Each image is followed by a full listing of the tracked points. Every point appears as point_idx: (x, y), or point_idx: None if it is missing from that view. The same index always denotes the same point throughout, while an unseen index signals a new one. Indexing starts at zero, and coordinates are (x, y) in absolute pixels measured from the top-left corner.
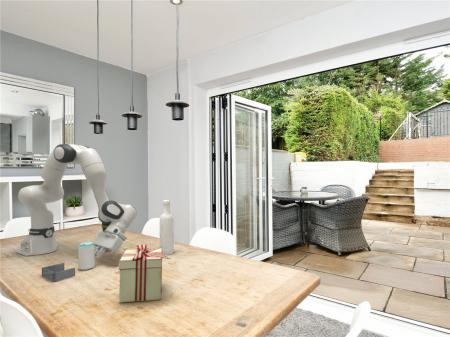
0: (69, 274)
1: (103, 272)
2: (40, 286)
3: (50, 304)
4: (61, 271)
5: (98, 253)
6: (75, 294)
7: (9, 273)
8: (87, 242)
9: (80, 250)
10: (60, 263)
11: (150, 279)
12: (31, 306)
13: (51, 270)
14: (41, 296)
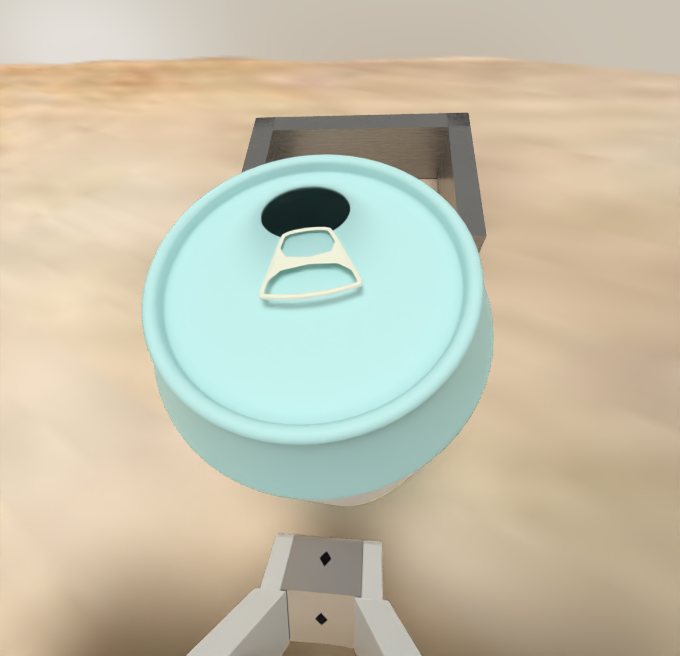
0: None
1: (85, 448)
2: None
3: (46, 99)
4: (254, 157)
5: (268, 576)
6: (8, 174)
7: (668, 87)
8: (438, 360)
9: (296, 221)
10: (477, 214)
11: None
12: (106, 66)
13: (444, 183)
14: (153, 99)
